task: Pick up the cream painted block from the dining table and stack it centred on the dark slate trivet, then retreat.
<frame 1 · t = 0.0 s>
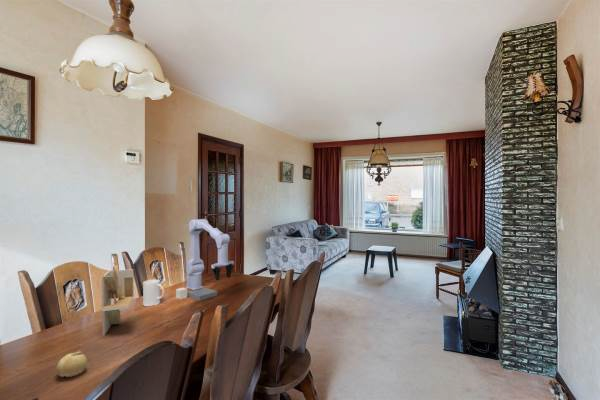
hand: (223, 278, 178), 10 cm above the table, fingers open, 7 cm apart
trivet: (202, 295, 179), on the table
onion: (72, 374, 98), on the table
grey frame: (119, 330, 133), on the table
mug: (154, 304, 165), on the table
block: (181, 297, 176), on the table
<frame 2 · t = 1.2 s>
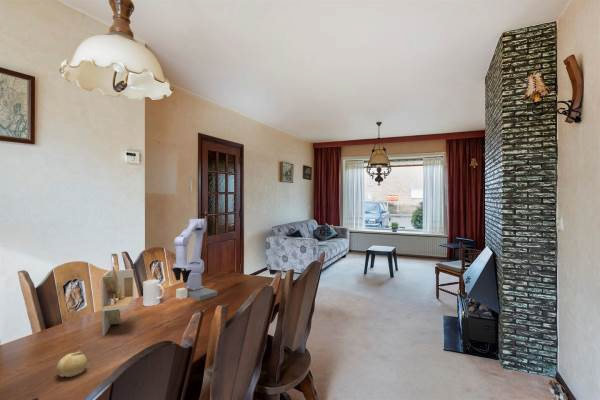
hand: (181, 281, 176), 9 cm above the table, fingers open, 7 cm apart
nothing on the table moved.
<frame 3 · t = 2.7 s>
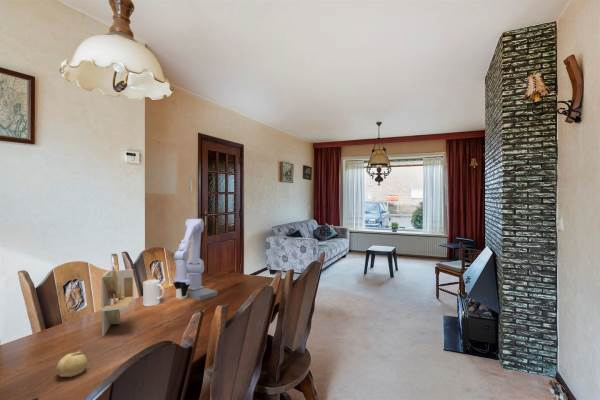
hand: (181, 295, 176), 1 cm above the table, fingers closed on block, 4 cm apart
block: (181, 297, 176), on the table, touching gripper
everything else where it was.
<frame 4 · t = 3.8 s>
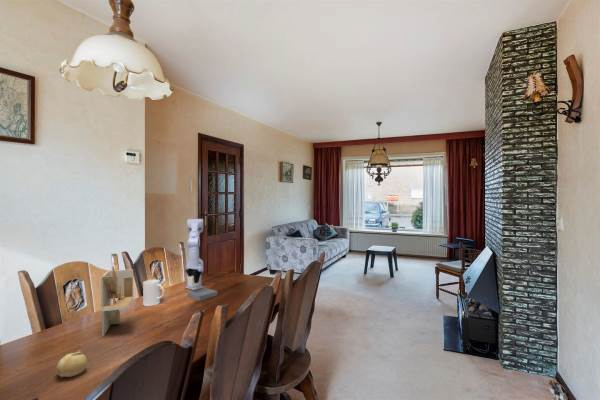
hand: (194, 282, 178), 8 cm above the table, fingers closed on block, 4 cm apart
block: (193, 285, 177), point 7 cm above the table, touching gripper
everything else where it was.
when the fingers open (5 cm above the table, at t = 5.1 s): block drops 1 cm, resting on trivet.
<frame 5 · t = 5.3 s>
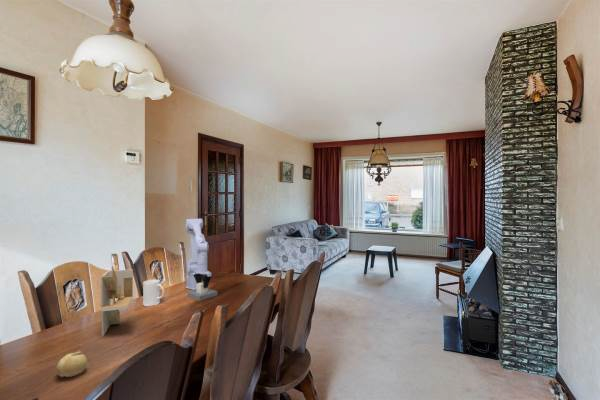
hand: (202, 287, 179), 5 cm above the table, fingers open, 6 cm apart
block: (202, 291, 178), point 2 cm above the table, touching trivet
everything else where it was.
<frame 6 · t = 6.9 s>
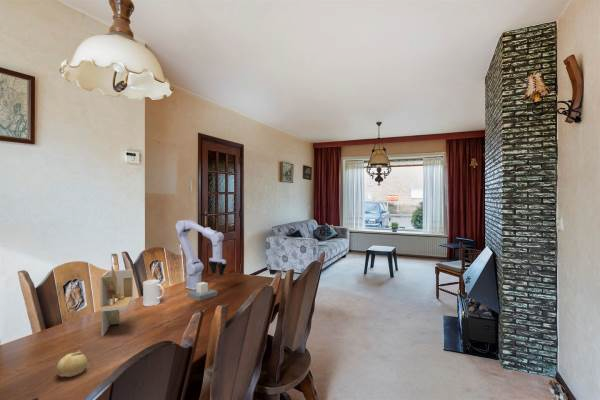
hand: (217, 274, 190), 10 cm above the table, fingers open, 7 cm apart
nothing on the table moved.
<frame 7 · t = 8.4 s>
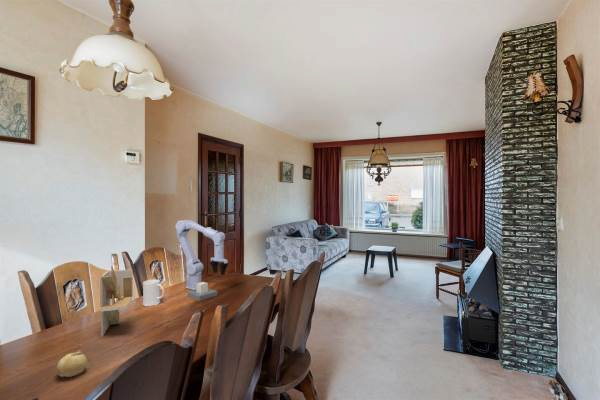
hand: (219, 273, 192), 10 cm above the table, fingers open, 7 cm apart
nothing on the table moved.
at the end: block inside the target area on the trivet (0.3 cm from its centre), point 2.4 cm above the trivet's base; block tilted 0°; the gripper is holding nothing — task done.
